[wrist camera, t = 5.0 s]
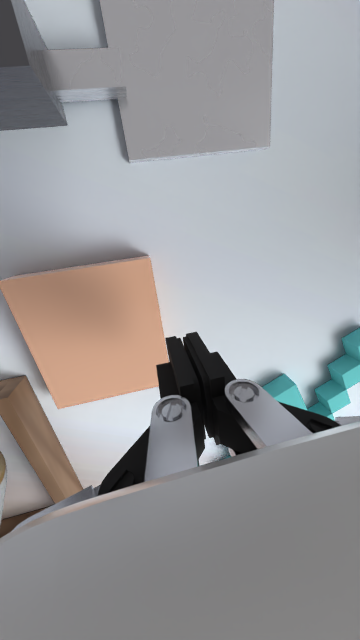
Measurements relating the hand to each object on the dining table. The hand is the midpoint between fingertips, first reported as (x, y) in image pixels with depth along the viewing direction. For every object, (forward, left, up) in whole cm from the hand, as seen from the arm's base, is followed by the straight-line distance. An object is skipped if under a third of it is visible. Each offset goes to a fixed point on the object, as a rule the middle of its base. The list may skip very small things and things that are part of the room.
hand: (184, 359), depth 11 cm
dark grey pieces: (+1, -14, -6) cm, 15 cm away
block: (+1, 0, -6) cm, 6 cm away
